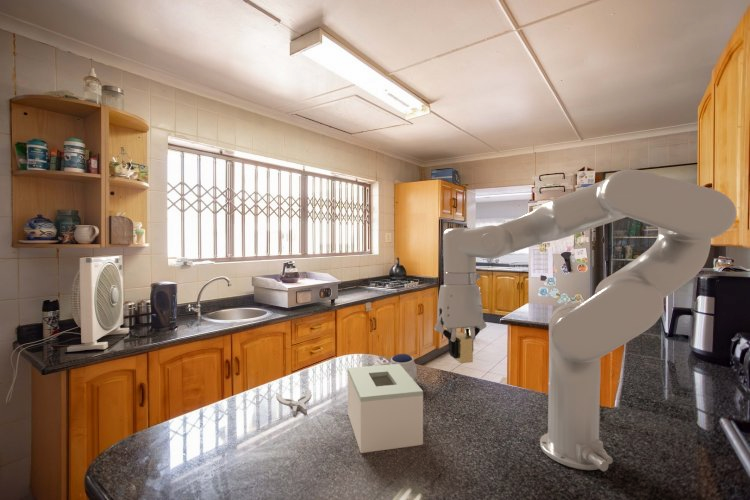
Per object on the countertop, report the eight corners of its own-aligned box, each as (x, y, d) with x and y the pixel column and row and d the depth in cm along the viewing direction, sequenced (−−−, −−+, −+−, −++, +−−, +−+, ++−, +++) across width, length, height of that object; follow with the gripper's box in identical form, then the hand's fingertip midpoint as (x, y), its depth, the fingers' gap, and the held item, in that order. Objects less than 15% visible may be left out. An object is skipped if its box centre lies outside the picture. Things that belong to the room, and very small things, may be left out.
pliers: (309, 385, 110) (319, 406, 96) (309, 390, 110) (319, 412, 96) (275, 390, 106) (280, 413, 92) (275, 395, 106) (280, 419, 92)
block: (472, 362, 84) (472, 338, 84) (460, 363, 84) (460, 339, 83) (460, 354, 90) (460, 332, 90) (449, 355, 89) (449, 333, 89)
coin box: (422, 444, 80) (423, 391, 80) (360, 453, 77) (360, 397, 77) (399, 407, 98) (399, 363, 97) (347, 413, 94) (347, 367, 94)
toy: (345, 356, 116) (401, 344, 123) (347, 384, 116) (403, 371, 124) (364, 376, 99) (428, 361, 106) (367, 409, 99) (430, 392, 107)
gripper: (482, 276, 92) (483, 348, 92) (421, 279, 88) (423, 354, 89) (499, 279, 85) (500, 357, 85) (433, 282, 81) (435, 364, 81)
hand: (461, 355), depth 87 cm, fingers closed on block, 3 cm apart
